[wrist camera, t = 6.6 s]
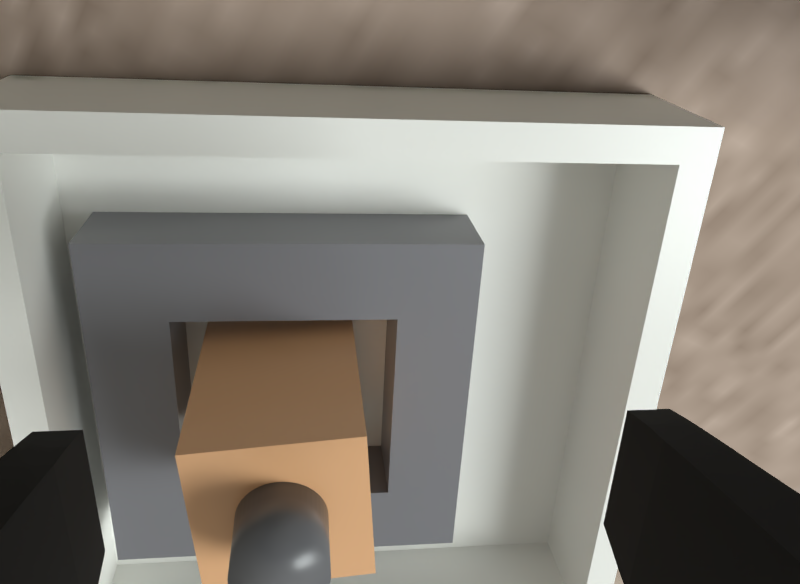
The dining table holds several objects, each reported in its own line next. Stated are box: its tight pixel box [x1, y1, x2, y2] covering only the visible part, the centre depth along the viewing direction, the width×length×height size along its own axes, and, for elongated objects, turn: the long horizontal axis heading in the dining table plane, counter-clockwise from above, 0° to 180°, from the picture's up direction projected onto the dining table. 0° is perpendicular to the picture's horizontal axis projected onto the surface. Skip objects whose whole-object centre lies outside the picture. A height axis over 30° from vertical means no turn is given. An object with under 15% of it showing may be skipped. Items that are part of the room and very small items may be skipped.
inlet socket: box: [68, 212, 485, 560], centre depth 19 cm, size 9×9×2 cm
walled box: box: [0, 75, 725, 584], centre depth 19 cm, size 15×15×4 cm
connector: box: [175, 320, 376, 584], centre depth 16 cm, size 4×4×8 cm
